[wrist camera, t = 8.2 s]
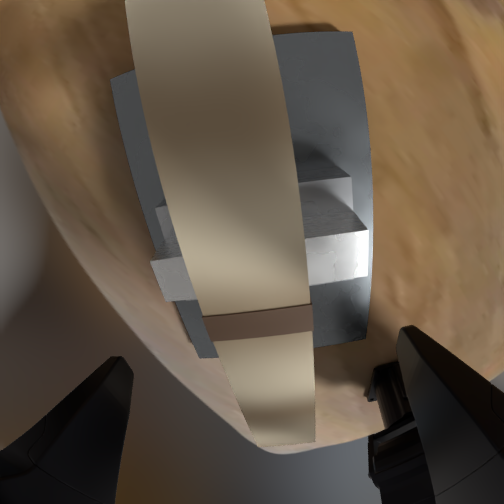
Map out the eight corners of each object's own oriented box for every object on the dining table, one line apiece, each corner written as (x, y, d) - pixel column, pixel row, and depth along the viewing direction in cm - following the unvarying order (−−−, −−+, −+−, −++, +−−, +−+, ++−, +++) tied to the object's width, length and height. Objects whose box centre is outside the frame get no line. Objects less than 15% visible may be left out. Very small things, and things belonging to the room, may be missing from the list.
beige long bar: (311, 397, 18) (316, 442, 14) (258, 402, 18) (257, 447, 15) (258, 6, 7) (256, -36, 4) (163, 28, 8) (122, 1, 5)
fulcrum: (362, 329, 22) (381, 384, 17) (201, 348, 24) (189, 404, 19) (346, 36, 12) (385, 7, 7) (119, 80, 14) (61, 76, 8)
